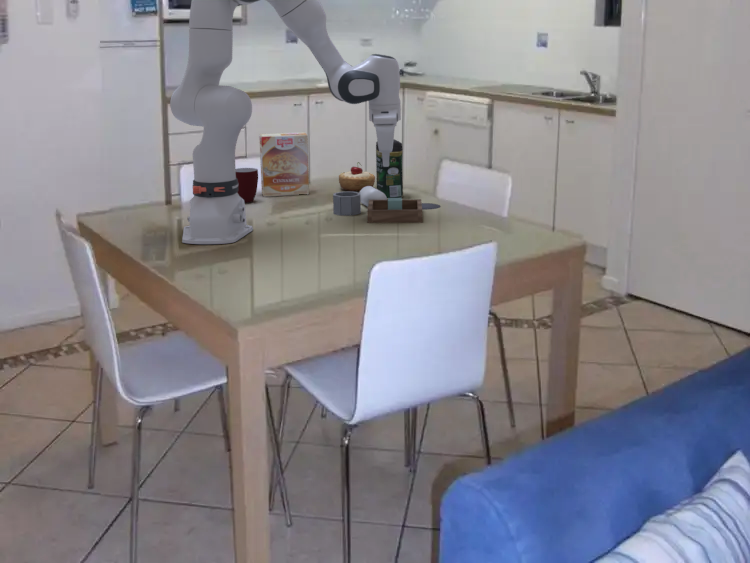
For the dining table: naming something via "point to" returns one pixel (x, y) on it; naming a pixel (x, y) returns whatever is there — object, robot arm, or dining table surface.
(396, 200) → the block
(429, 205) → the coaster
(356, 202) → the stoneware cup
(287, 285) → the dining table surface
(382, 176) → the coffee jar
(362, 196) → the white rounded lump
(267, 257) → the dining table surface
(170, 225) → the dining table surface
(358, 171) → the pastry
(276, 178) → the coffeecake box
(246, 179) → the mug
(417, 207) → the walnut box
